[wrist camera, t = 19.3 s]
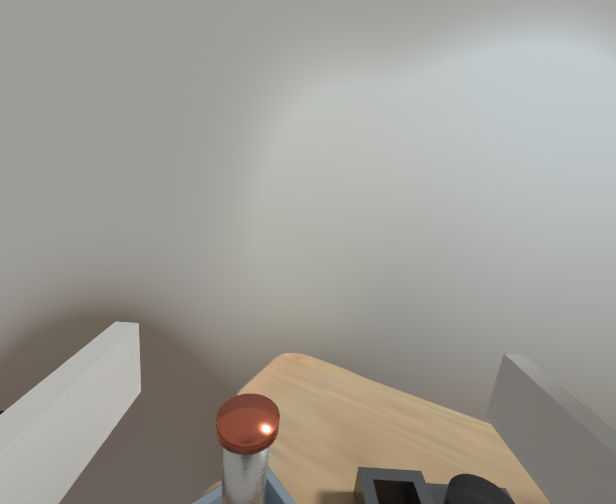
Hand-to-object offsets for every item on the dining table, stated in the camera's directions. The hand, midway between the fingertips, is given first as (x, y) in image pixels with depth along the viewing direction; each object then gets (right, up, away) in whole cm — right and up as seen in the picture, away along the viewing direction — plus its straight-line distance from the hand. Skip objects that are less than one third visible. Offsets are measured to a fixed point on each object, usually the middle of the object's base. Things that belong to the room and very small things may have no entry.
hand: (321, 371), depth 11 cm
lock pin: (-7, -27, +18) cm, 33 cm away
